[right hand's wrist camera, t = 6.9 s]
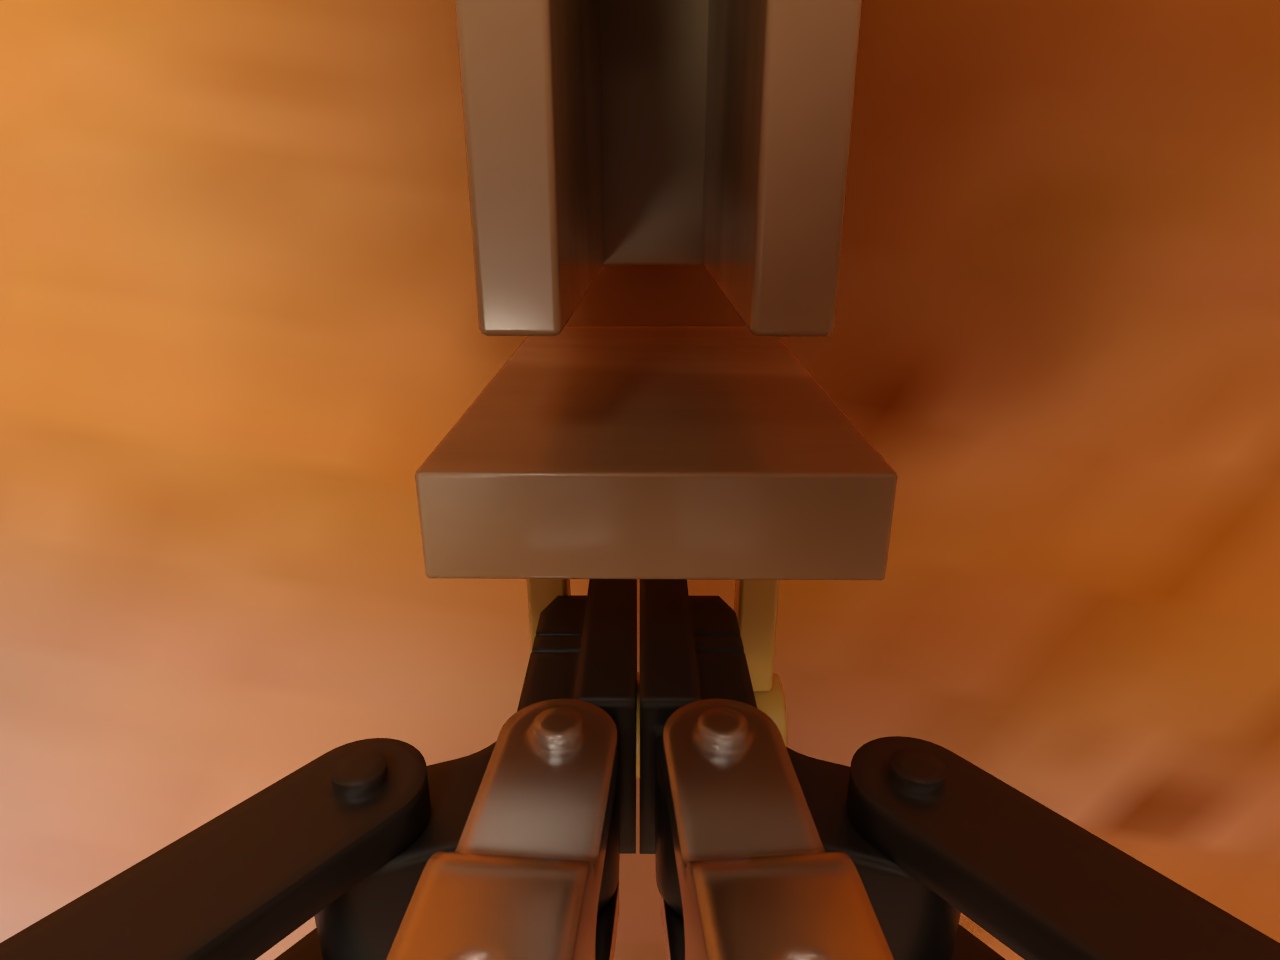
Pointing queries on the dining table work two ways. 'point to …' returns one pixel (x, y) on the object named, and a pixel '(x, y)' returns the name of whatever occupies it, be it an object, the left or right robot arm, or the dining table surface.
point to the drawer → (658, 355)
